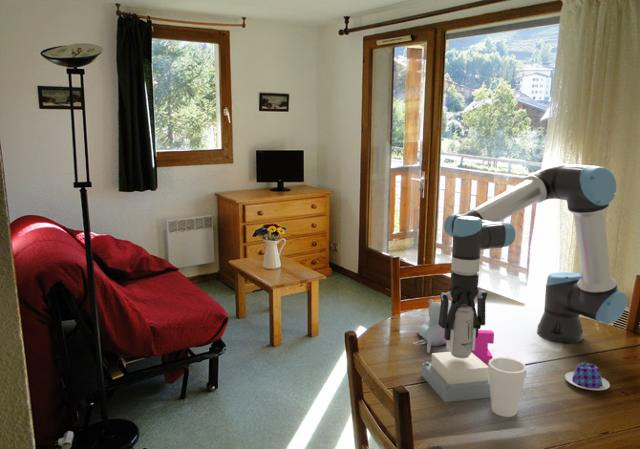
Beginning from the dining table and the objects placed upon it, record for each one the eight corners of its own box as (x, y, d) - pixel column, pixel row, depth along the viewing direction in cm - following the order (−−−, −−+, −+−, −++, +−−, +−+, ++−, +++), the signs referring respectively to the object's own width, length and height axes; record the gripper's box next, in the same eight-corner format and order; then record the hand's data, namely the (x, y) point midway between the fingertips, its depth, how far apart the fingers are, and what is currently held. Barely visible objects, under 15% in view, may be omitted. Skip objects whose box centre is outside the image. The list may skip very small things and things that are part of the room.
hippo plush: (470, 343, 181) (472, 300, 179) (428, 354, 172) (429, 309, 170) (441, 329, 195) (442, 289, 192) (400, 339, 186) (401, 297, 183)
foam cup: (480, 402, 142) (483, 357, 140) (512, 400, 143) (516, 356, 141) (494, 420, 133) (497, 373, 131) (529, 419, 134) (533, 372, 132)
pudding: (595, 373, 161) (597, 357, 160) (618, 392, 149) (620, 375, 148) (557, 373, 160) (558, 357, 159) (577, 392, 148) (578, 375, 148)
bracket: (492, 363, 167) (494, 333, 165) (459, 362, 167) (461, 332, 166) (482, 348, 178) (484, 320, 177) (452, 347, 179) (454, 319, 177)
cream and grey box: (470, 371, 161) (471, 346, 159) (497, 396, 145) (499, 369, 144) (421, 375, 158) (422, 351, 156) (444, 402, 142) (446, 374, 141)
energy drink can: (465, 361, 145) (468, 310, 143) (445, 355, 149) (448, 305, 147) (474, 354, 150) (477, 304, 147) (455, 348, 154) (458, 300, 151)
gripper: (488, 266, 151) (483, 341, 155) (427, 269, 147) (424, 346, 151) (502, 273, 144) (497, 352, 148) (439, 277, 140) (435, 357, 144)
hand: (460, 349), depth 149 cm, fingers closed on energy drink can, 6 cm apart
